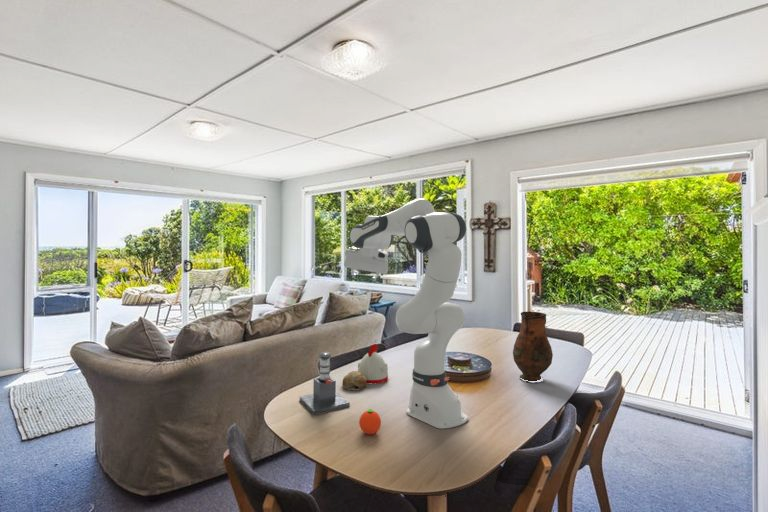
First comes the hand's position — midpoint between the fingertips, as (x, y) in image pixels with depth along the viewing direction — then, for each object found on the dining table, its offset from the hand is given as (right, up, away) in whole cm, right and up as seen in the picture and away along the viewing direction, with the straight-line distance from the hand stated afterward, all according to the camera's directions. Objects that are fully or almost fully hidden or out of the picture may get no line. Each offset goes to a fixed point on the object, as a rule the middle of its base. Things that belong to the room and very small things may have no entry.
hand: (363, 279), depth 175 cm
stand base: (-13, -44, -33) cm, 57 cm away
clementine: (+5, -46, -54) cm, 71 cm away
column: (-13, -43, -33) cm, 56 cm away
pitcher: (+77, -45, -2) cm, 89 cm away
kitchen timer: (+4, -44, -6) cm, 44 cm away
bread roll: (-3, -44, -15) cm, 47 cm away
